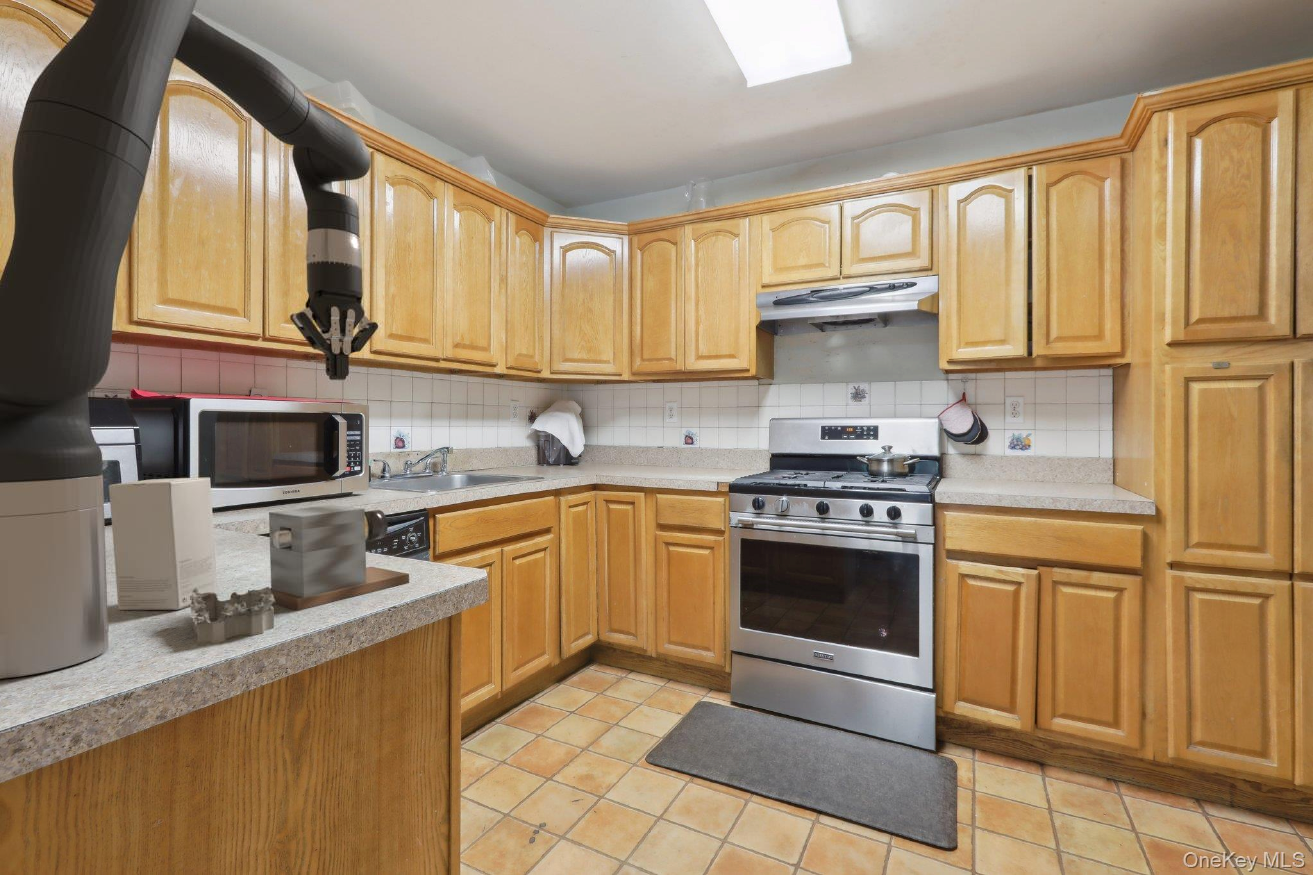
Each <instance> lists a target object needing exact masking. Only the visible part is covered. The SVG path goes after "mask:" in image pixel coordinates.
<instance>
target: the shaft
mask: <svg viewBox="0 0 1313 875" xmlns="http://www.w3.org/2000/svg"><path fill="white" fill-rule="evenodd" d="M388 528H389V524H388V518H387V515H386V514H385V512H383V510H381V509H374V510H368V511H367V510H365V542H366V541H367V542H368V541H374V540H378V539H382V538H384V537H385V536H386V535H387V533H388ZM273 544H274V546H275V547H276V548H281V547H287V546H292V542H291V530H285V531H278V532H275V533H274V534H273Z"/></svg>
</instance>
